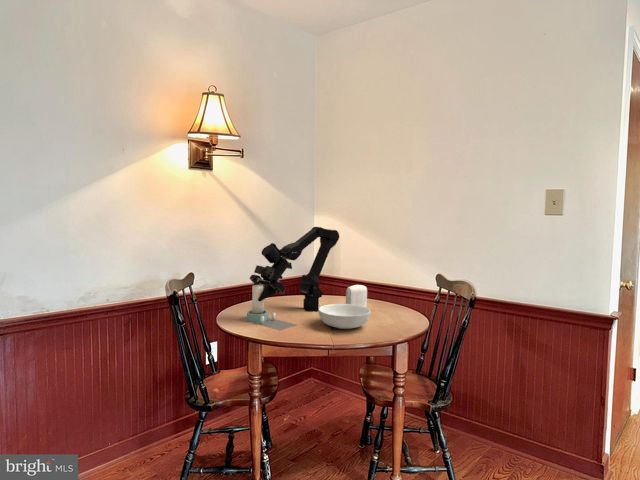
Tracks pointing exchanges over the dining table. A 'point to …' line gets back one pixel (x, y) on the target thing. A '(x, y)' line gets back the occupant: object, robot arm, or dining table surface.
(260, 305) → the white cylinder
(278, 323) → the board
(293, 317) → the dining table surface
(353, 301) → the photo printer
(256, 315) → the end holder
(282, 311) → the dining table surface
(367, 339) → the dining table surface
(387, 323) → the dining table surface
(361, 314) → the serving bowl
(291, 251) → the robot arm
